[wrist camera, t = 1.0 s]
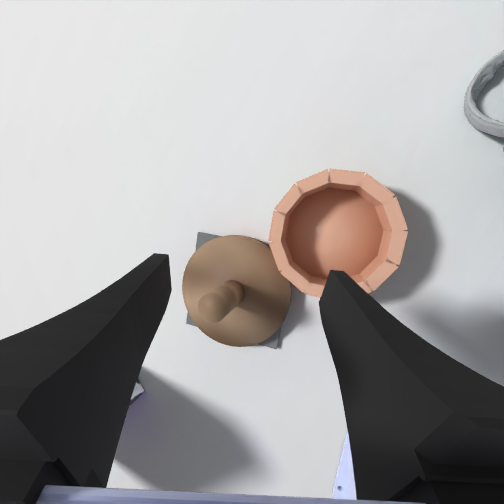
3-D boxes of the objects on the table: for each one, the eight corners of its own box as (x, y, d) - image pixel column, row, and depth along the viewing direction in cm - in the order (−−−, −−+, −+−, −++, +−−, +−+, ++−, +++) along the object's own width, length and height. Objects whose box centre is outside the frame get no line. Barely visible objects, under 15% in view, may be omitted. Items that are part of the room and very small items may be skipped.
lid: (280, 355, 25) (267, 393, 20) (181, 326, 28) (145, 352, 22) (300, 246, 24) (294, 253, 18) (194, 226, 26) (158, 227, 21)
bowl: (378, 299, 23) (387, 312, 19) (269, 276, 25) (261, 284, 22) (405, 185, 21) (421, 178, 18) (287, 172, 24) (281, 163, 20)
